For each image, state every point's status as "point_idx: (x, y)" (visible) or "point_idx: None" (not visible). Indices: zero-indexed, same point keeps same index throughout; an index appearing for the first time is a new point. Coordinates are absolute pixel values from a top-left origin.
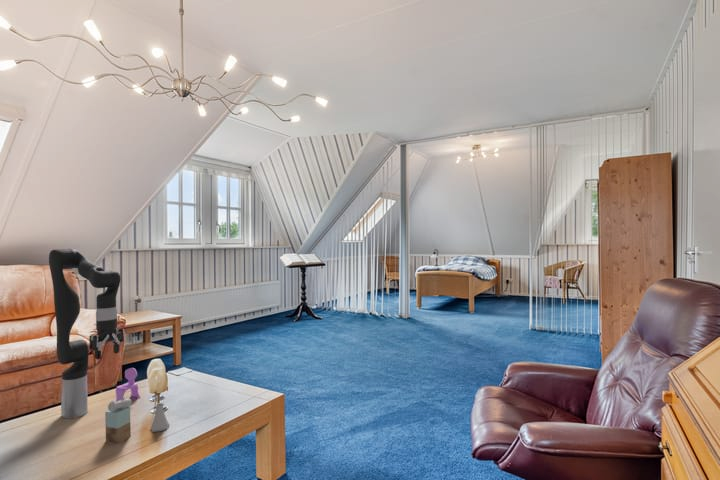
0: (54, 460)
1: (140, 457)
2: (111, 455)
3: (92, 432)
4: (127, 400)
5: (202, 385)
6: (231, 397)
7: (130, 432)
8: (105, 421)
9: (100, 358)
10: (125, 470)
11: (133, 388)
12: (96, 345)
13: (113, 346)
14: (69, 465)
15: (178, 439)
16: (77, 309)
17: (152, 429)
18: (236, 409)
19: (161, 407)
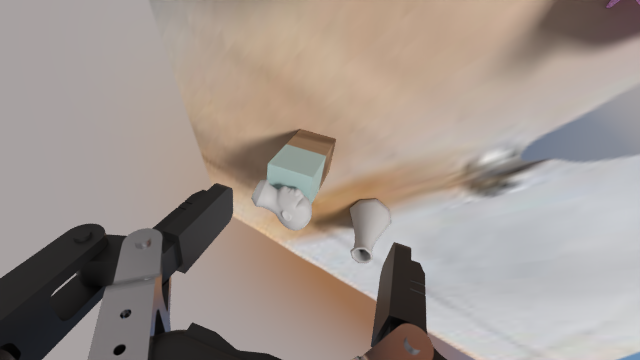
0: (212, 65)
1: (262, 220)
2: (256, 172)
3: (340, 56)
4: (287, 227)
5: None
6: (546, 319)
7: (326, 175)
8: (280, 150)
9: (225, 219)
10: None
11: None
12: (84, 312)
13: (390, 295)
14: (210, 114)
15: (325, 256)
16: None
17: (352, 208)
18: (457, 325)
19: (358, 255)
